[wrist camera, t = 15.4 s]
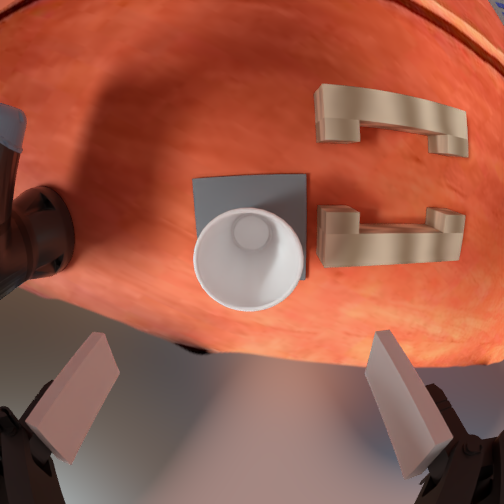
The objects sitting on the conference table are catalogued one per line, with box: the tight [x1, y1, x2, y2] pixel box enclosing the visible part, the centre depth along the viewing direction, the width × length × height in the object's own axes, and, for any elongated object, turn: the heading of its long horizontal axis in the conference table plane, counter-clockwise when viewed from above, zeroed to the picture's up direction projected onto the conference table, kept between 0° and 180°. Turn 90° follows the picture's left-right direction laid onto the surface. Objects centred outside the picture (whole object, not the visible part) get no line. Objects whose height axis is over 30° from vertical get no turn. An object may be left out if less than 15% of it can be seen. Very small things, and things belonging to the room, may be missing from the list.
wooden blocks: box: [314, 84, 468, 268], centre depth 30 cm, size 21×21×5 cm
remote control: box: [488, 0, 504, 25], centre depth 16 cm, size 8×23×2 cm, turn 25°
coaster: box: [192, 174, 307, 280], centre depth 35 cm, size 14×14×1 cm
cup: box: [193, 208, 304, 311], centre depth 29 cm, size 10×10×11 cm
